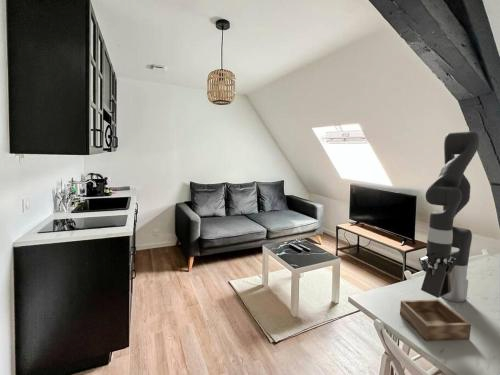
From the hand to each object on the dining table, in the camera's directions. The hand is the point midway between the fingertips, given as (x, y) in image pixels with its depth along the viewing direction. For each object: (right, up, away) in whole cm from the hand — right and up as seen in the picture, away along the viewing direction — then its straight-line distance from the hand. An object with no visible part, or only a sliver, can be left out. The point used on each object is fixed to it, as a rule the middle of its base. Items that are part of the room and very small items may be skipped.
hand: (435, 282), depth 101 cm
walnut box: (0, -18, +2) cm, 18 cm away
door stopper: (0, -3, 0) cm, 3 cm away
